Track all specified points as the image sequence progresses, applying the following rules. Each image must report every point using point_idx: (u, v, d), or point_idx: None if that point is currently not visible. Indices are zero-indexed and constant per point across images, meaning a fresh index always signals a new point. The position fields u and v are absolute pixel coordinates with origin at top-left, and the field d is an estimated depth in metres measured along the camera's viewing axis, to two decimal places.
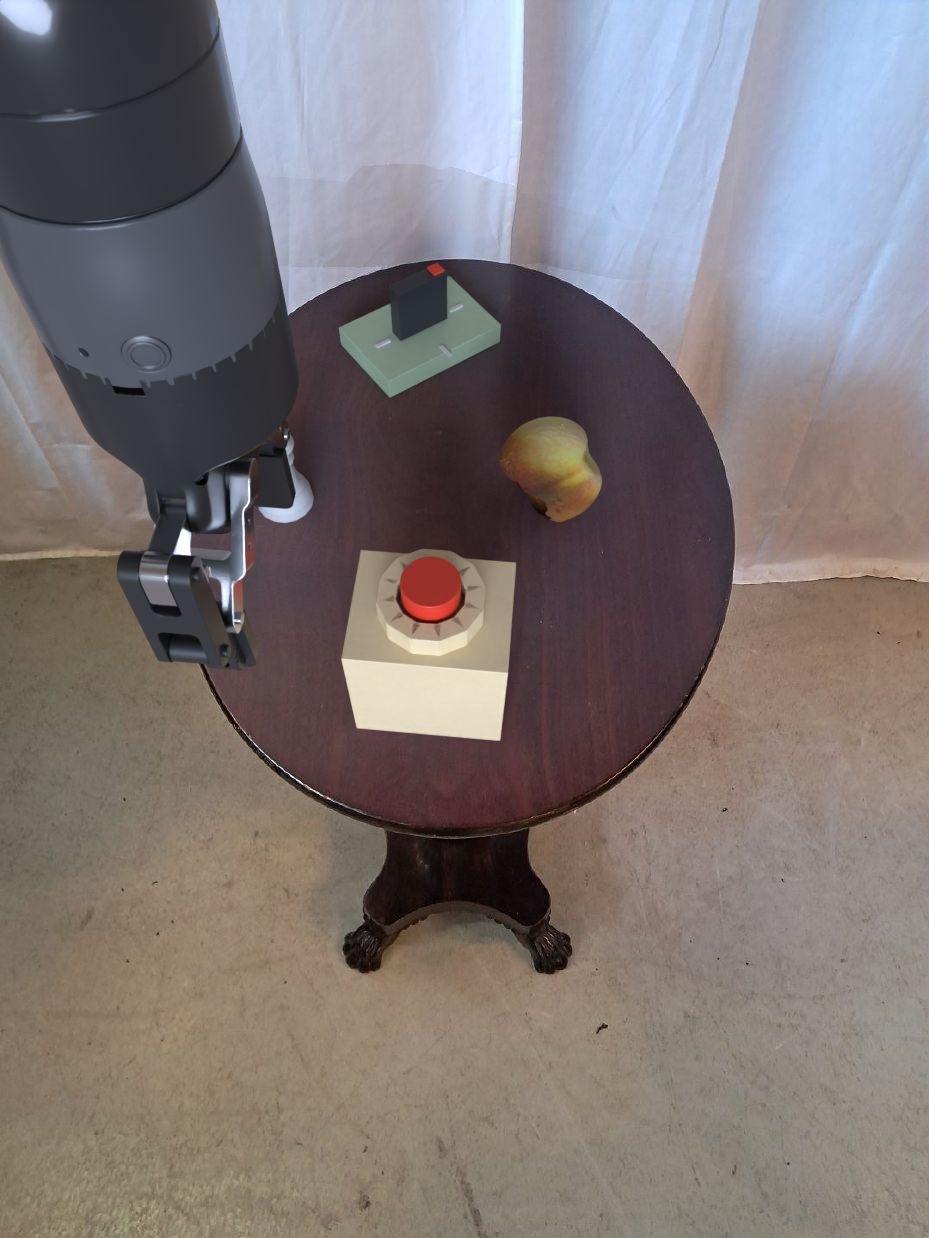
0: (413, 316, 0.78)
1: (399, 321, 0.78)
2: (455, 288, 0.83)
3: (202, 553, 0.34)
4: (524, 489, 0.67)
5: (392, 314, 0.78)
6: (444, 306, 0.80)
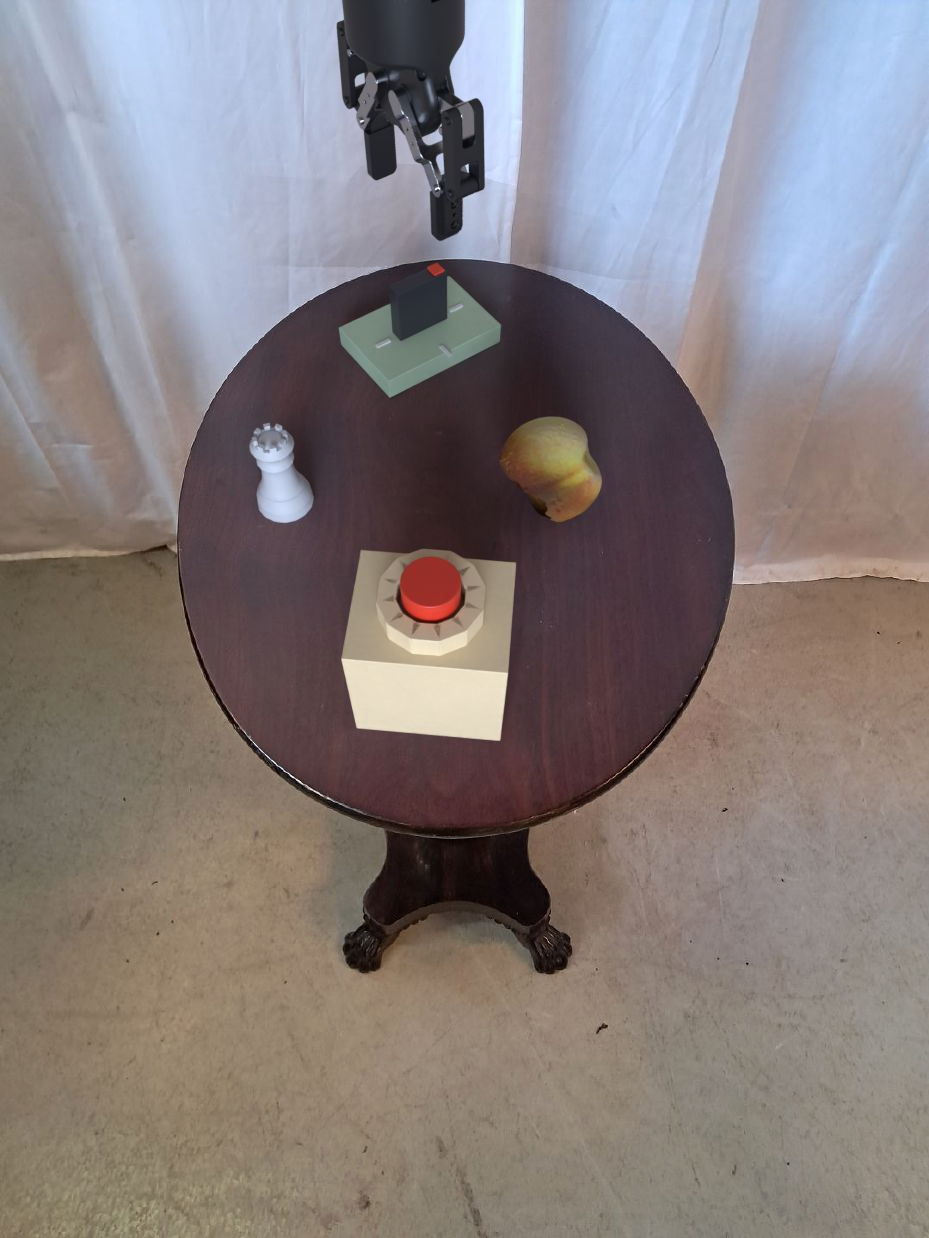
0: (413, 316, 0.78)
1: (399, 321, 0.78)
2: (455, 288, 0.83)
3: None
4: (524, 489, 0.67)
5: (392, 314, 0.78)
6: (444, 306, 0.80)
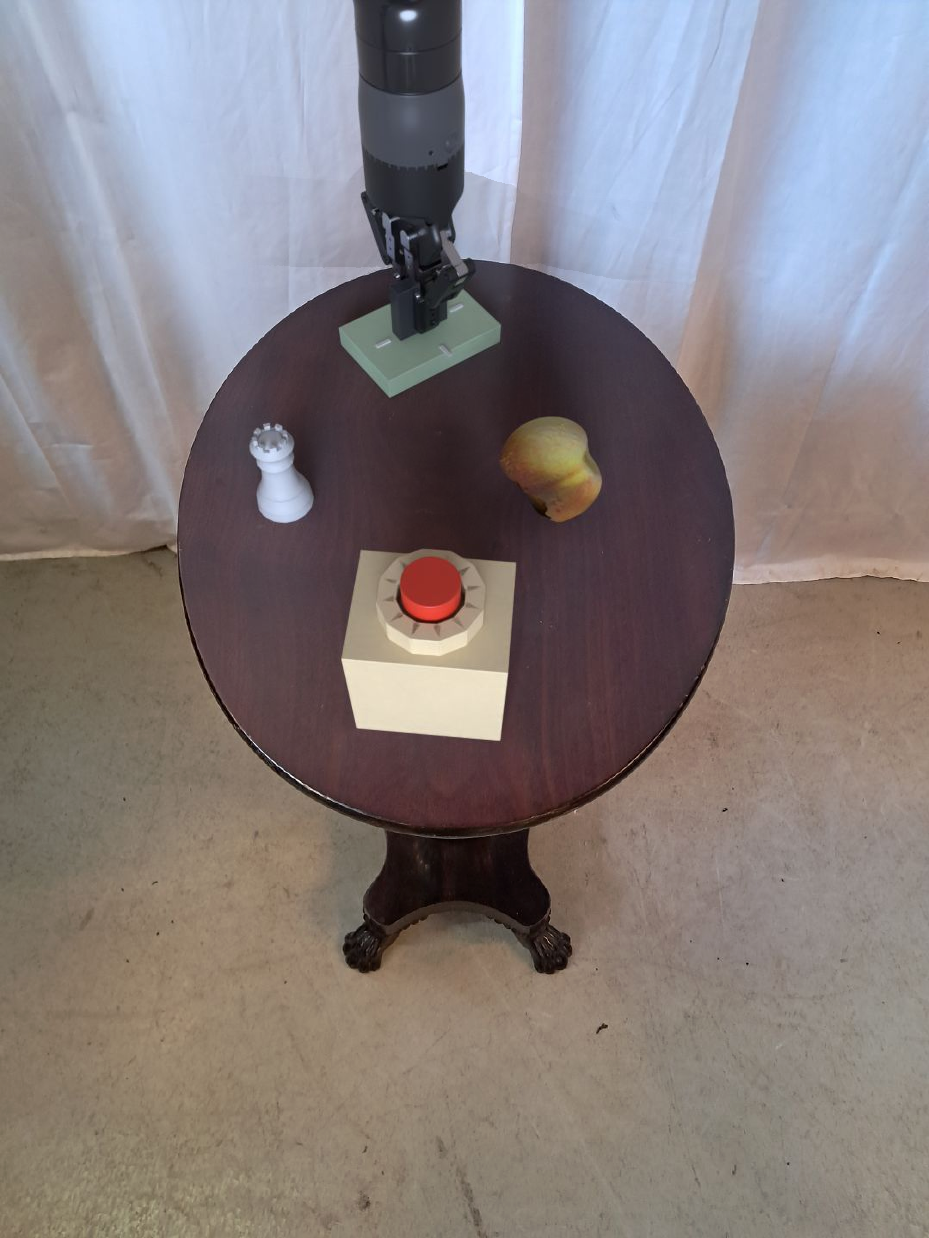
0: None
1: (399, 321, 0.78)
2: None
3: (425, 265, 0.74)
4: (524, 489, 0.67)
5: (392, 314, 0.78)
6: (444, 306, 0.80)
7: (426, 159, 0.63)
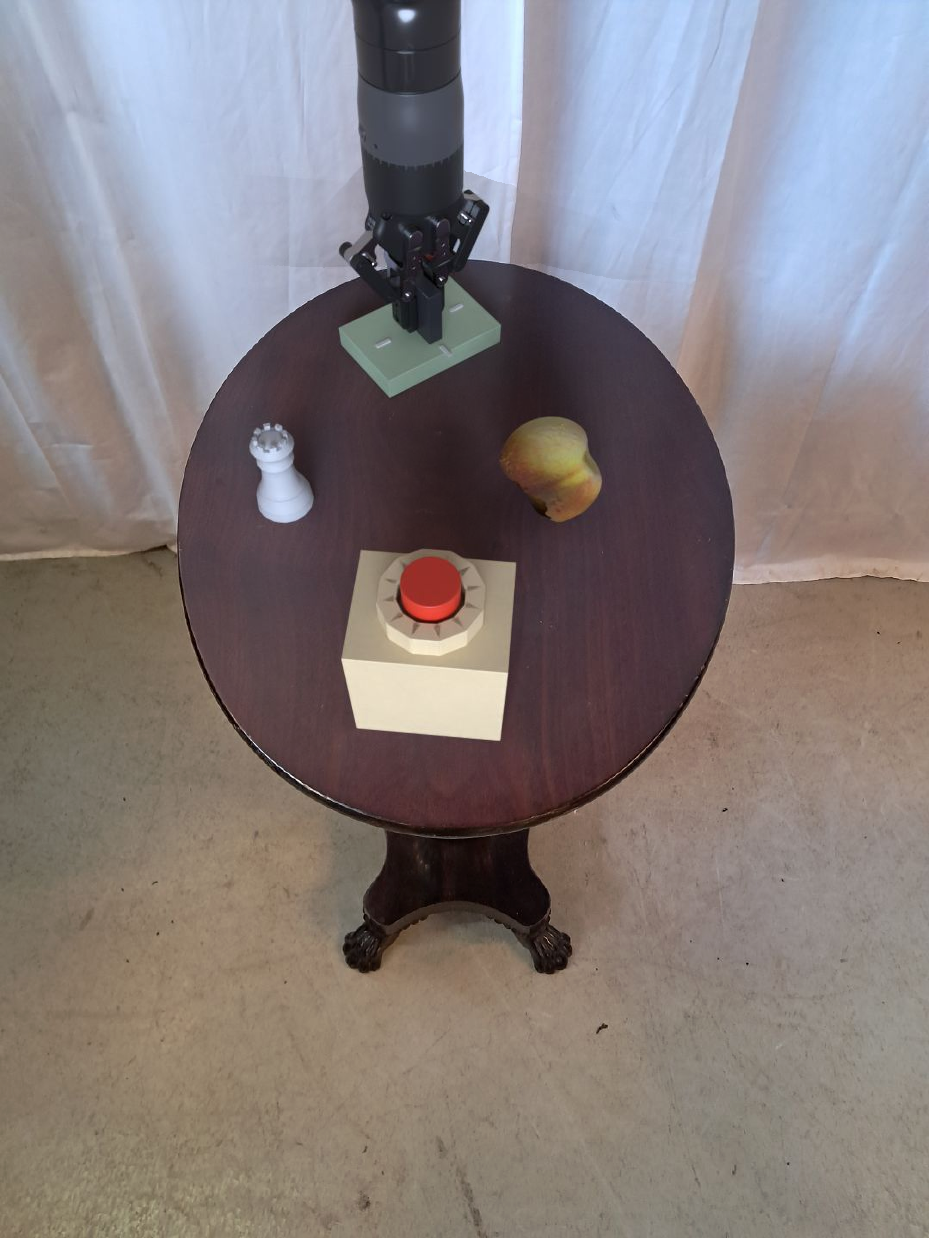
0: None
1: (441, 319, 0.78)
2: (455, 288, 0.83)
3: None
4: (524, 489, 0.67)
5: (431, 324, 0.78)
6: None
7: None
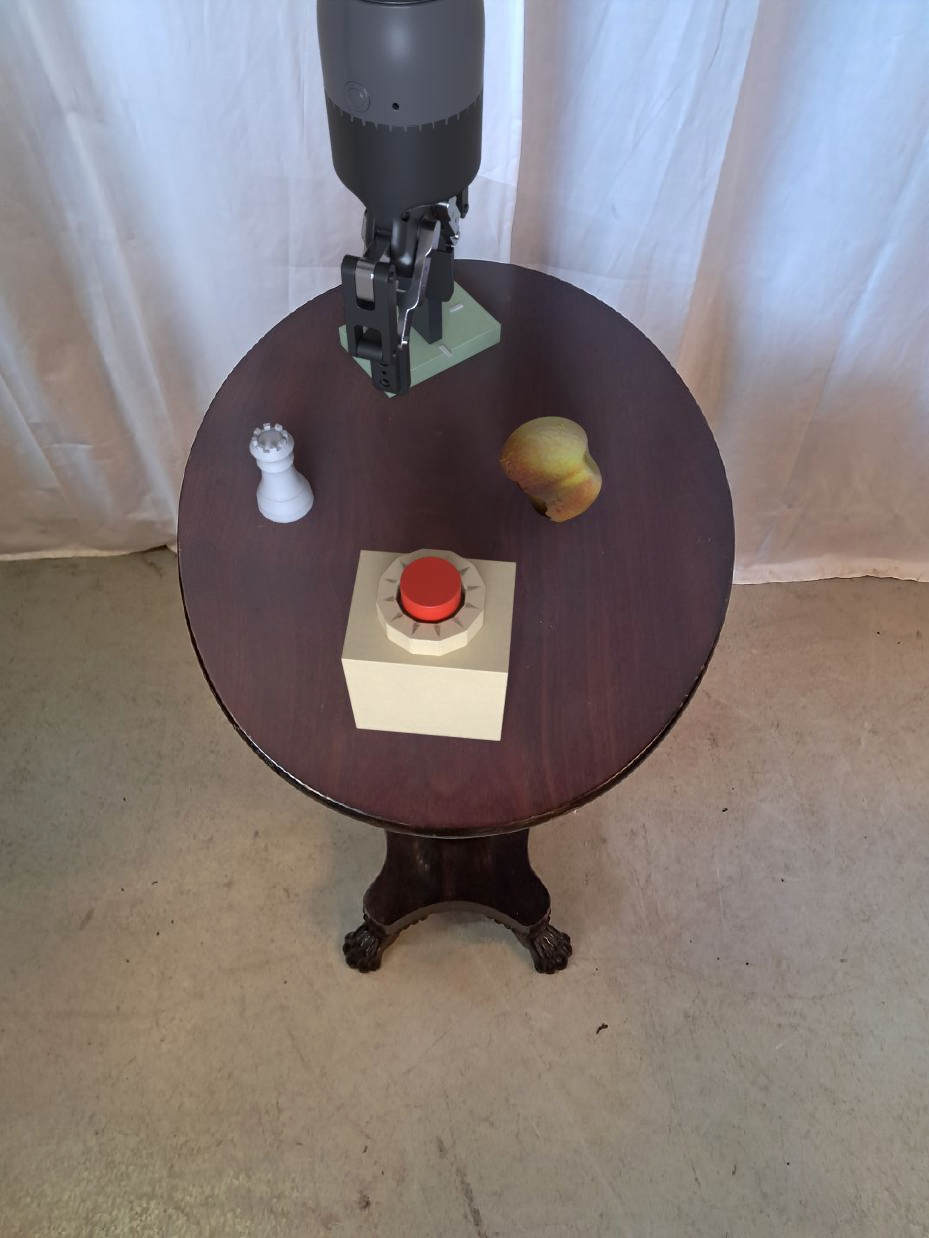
0: None
1: (441, 319, 0.78)
2: (455, 288, 0.83)
3: None
4: (524, 489, 0.67)
5: (431, 324, 0.78)
6: None
7: None
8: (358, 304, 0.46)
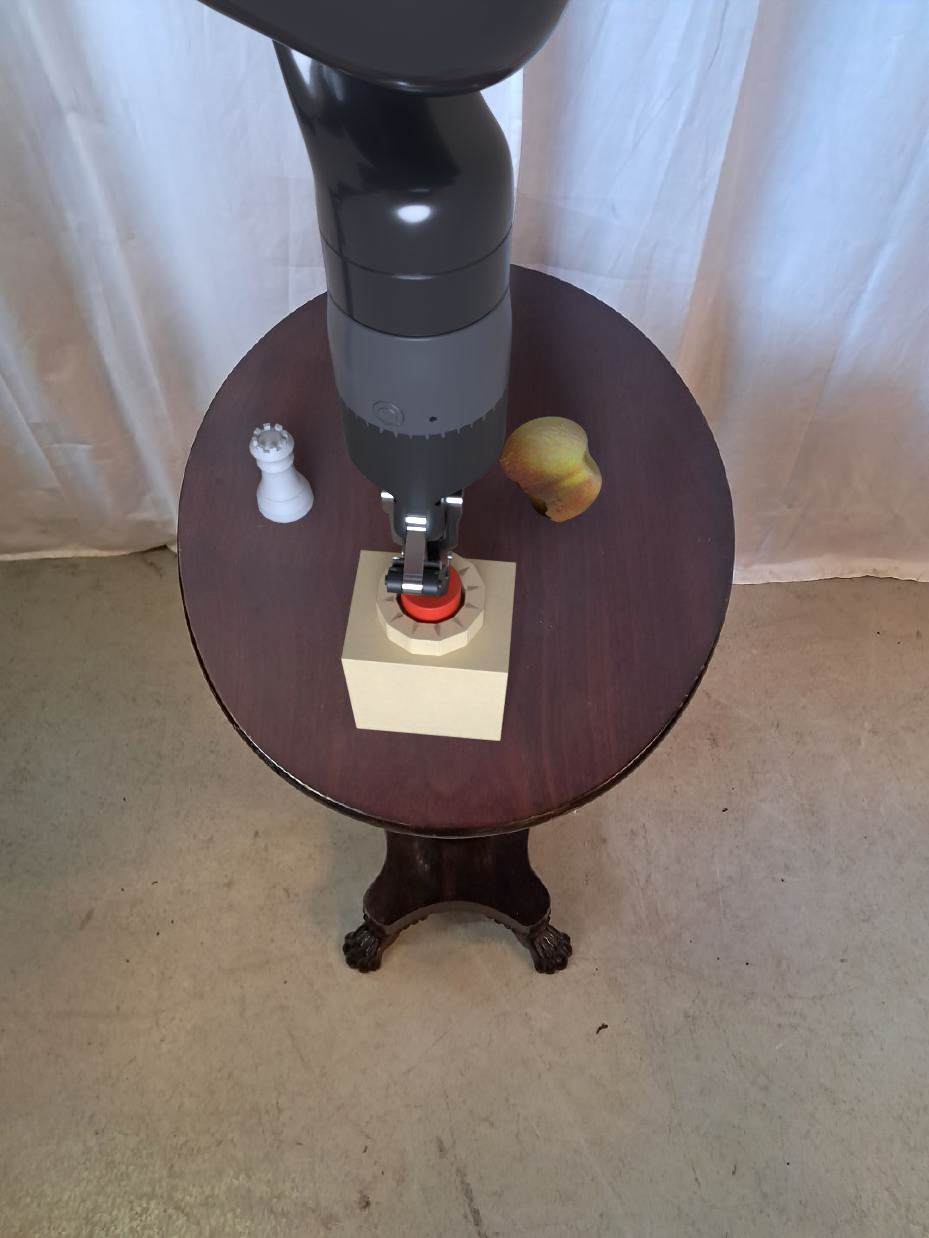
0: None
1: None
2: None
3: None
4: (524, 489, 0.67)
5: None
6: None
7: None
8: None
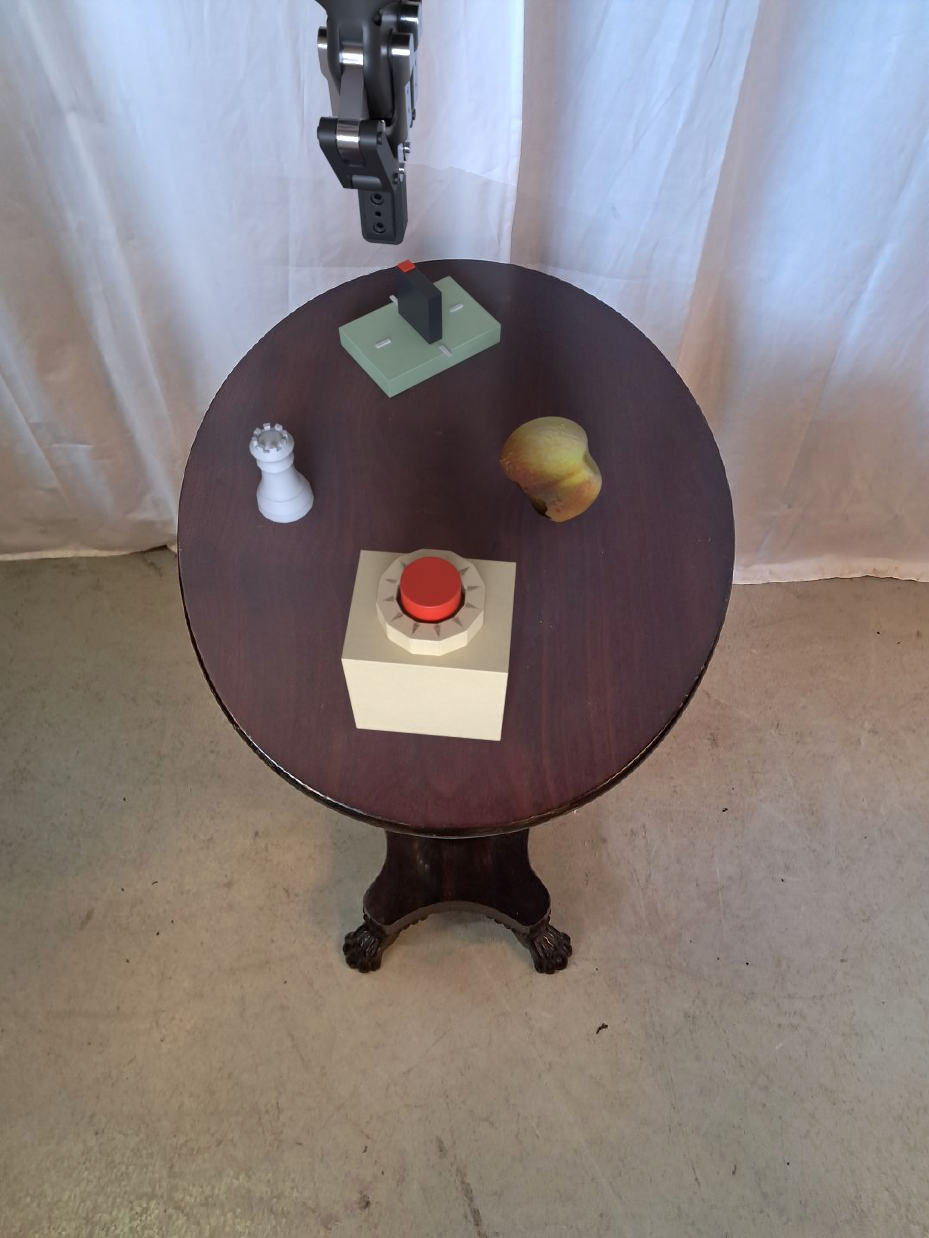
0: None
1: (441, 319, 0.78)
2: (455, 288, 0.83)
3: None
4: (524, 489, 0.67)
5: (431, 324, 0.78)
6: None
7: None
8: (346, 162, 0.39)
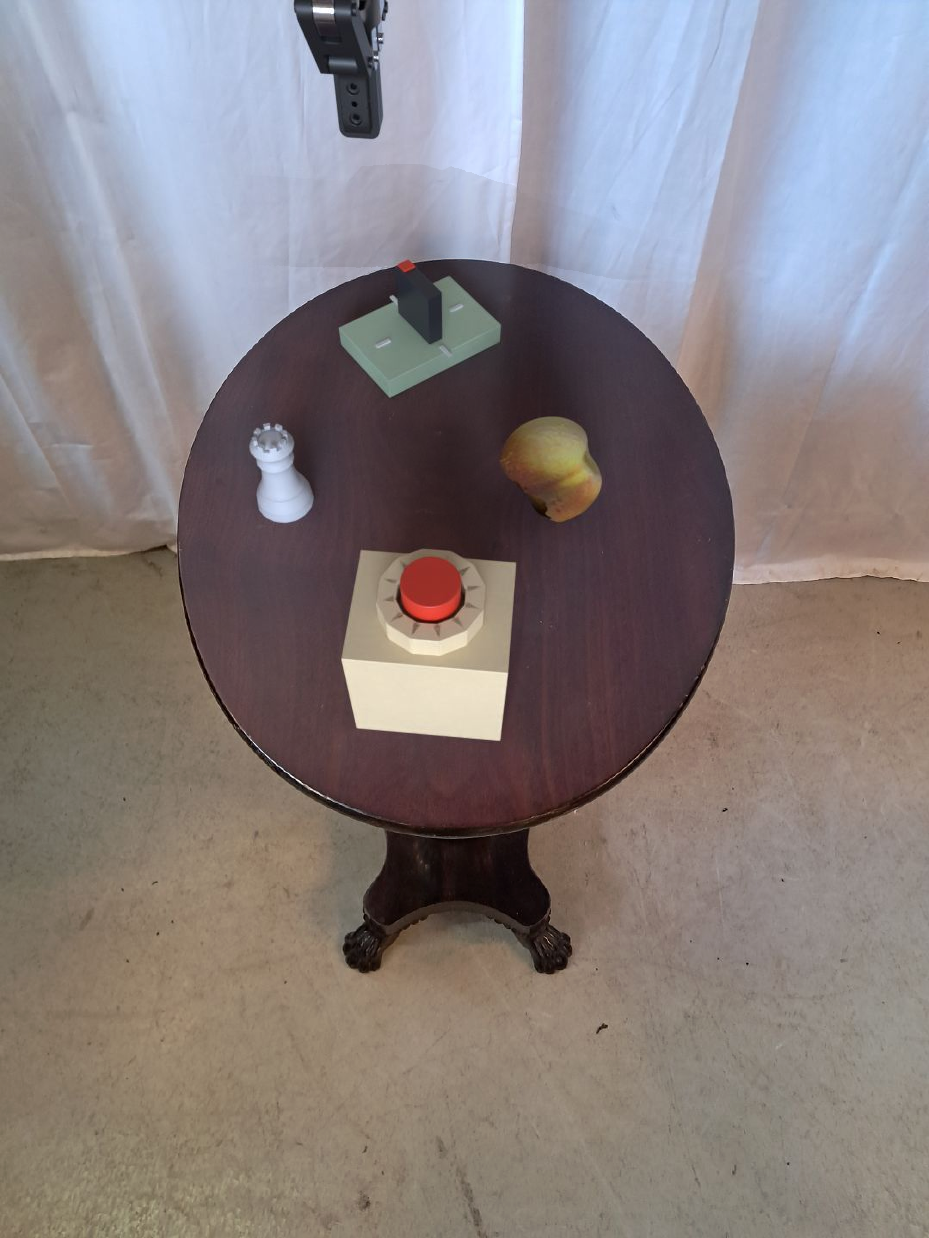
0: None
1: (441, 319, 0.78)
2: (455, 288, 0.83)
3: None
4: (524, 489, 0.67)
5: (431, 324, 0.78)
6: None
7: None
8: (322, 38, 0.41)
